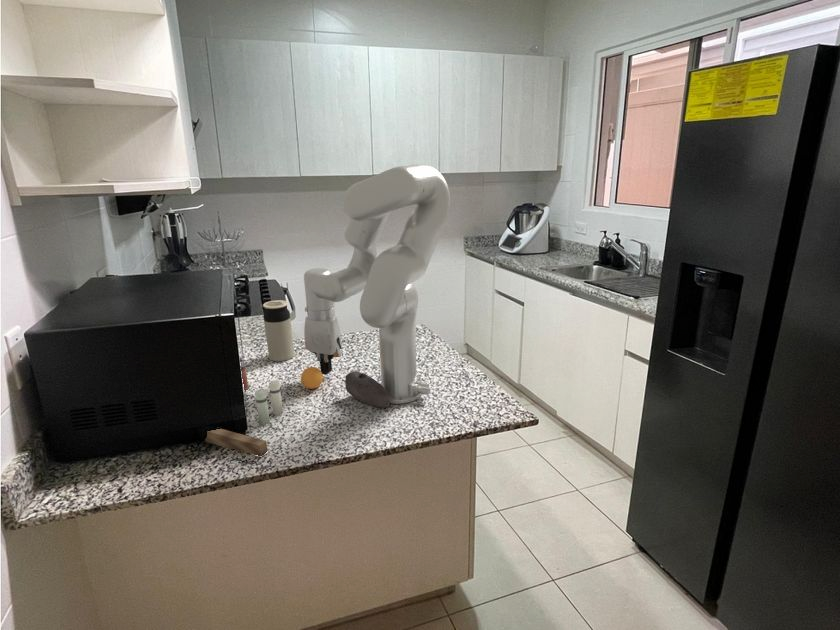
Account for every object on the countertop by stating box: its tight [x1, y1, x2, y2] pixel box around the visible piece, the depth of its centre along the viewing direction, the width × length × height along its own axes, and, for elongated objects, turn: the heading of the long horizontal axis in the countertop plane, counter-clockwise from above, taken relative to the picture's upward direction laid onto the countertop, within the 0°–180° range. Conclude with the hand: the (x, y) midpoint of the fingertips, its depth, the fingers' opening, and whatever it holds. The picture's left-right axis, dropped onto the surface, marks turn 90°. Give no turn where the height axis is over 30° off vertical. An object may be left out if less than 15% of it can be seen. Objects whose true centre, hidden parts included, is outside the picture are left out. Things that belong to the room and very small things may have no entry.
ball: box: [300, 366, 324, 390], centre depth 135 cm, size 6×6×6 cm
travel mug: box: [262, 299, 295, 362], centre depth 153 cm, size 8×8×18 cm
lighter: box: [239, 356, 250, 392], centre depth 135 cm, size 8×3×10 cm, turn 62°
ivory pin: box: [268, 380, 284, 416], centre depth 122 cm, size 2×2×8 cm
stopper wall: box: [204, 428, 269, 456], centre depth 109 cm, size 18×2×3 cm, turn 66°
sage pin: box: [254, 389, 271, 426], centre depth 117 cm, size 2×2×8 cm
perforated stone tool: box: [344, 370, 391, 409], centre depth 126 cm, size 15×5×7 cm, turn 46°
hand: (326, 372), depth 141 cm, fingers closed
